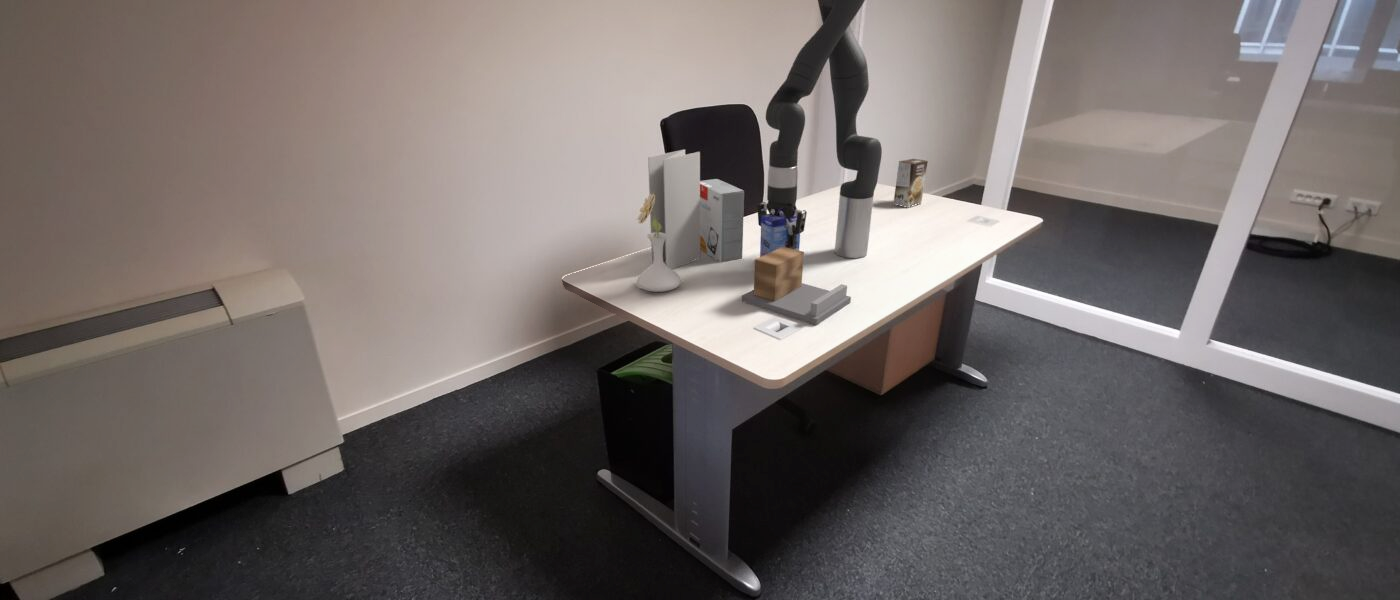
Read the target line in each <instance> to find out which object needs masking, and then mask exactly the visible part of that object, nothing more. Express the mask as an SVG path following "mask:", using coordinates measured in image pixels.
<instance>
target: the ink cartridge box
mask: <svg viewBox="0 0 1400 600" xmlns="http://www.w3.org/2000/svg"><path fill="white" fill-rule="evenodd" d="M782 209H783V208H780V209H779V210H778V212H777V215H771V214H770V213H767V214H766V215H762V216H761V226H760V244H759V246H760V251H759V252H760V253H759V257H762V256H764V255H766V254H768V253H770V252H772V251H775V250H777V249H779V248H781V247H786V248H788V235H789V232H788V230H787V228H786V227H785V219H784V218H783V217H781V216H779V212H780V211H781V210H782ZM794 220H795V221H797V218H796V215H794V216H793V217H792V218H791V219H790V220H788V222H789V223H791V222H793V221H794ZM800 241H801V233H800V234H797V239H796V246H794V247H793V248H791V249H794V250H798V251H800V245H801V244H800V243H801V242H800Z"/></svg>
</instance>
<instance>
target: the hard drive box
mask: <svg viewBox="0 0 1400 600" xmlns="http://www.w3.org/2000/svg"><path fill="white" fill-rule="evenodd" d="M744 200H745V190H743V189H741V188H738V187H737V186H735V185H732V184H730V183H728V182H725V181H723V180H720V179H718V178H713V179H706V180H700V251H702V250H703V252H705V254H707V255H709V256H710V257H711V258H713V259H714V258H715V259H714V260H716V261H717V262H719V263H724V261H725V262H730V261H735V260H739V259H742V258H743V243H744V242H743V240H744V214H745V213H744V212H745V211H744V208H745V206H744V205H745V201H744ZM729 260H730V261H729Z"/></svg>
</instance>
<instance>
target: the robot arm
mask: <svg viewBox="0 0 1400 600" xmlns="http://www.w3.org/2000/svg"><path fill="white" fill-rule="evenodd" d="M865 1H866V0H817V3H818V7H819V12H820V17H821V20H822V25H821V26H820V27H819V28H818V30H817V31H816V32H815V33H814V34H813V35H812V36H811V37H810V38H809V39H808V40H807V42H805V44H803V46H802V47H801V49H800V50H799V52H798V53H797V55H796V57H795V59H794V61H793V63H792V65H791V68H790V70H789V72H788V74H787V76H786V78H785V81H784V82H783V83H782V84H781V85H780V86H779V88H778V90H776V92H775V93H774V95H773V96H772V98H771V99H770V101H769V103H768V105H767V108H766V111H765V120H766V123H767V125H768V126H769V127H770V128H771V129H774V130H777V131H779V133H778V137H777V140H774V141H772V142H771V143H770V145H769V146H770V147H769V159H768V160H769V162H768V165H769V166H768V170H767V188H766V189H767V191H766V194H767V195H766V197H767V198H766V199H767V202H764V201H762V202H761V203H758V204H757V206H756V207H757V221H758V223H757V224H758V226H760V227H761V216H762V215H766V214H771V215H777V212H778V210H779V209H780V208H783V209H782V210H781V211H780V212H779V216H781V217H783V218H784V219H785V227H786V228H787V230H788V232H789V235H788V248H790V249H791V248H793V247H794V246H796V239H797V234H800V235H801V234H802V233H803V232H804V231H805V226H806V221H807V220H806V218H807V210H806V209H803V210H801V209H798V208H797V205H796V203H797V199H798V198H797V197H798V196H797V195H798V182H799V181H798V178H799V174H798V172H799V171H798V159H799V158H798V157H799V156H798V154H799V152H798V151H799V147H800V144H801V141H802V137H803V132H804V129H805V126H806V115H805V114H806V113H805V111H804V108H803V106H801V104H799V101H800V100H801V99H802V98H805V97H808V96H810V95H811V94H812V93H813V91H814V89H815V87H816V85H817V82H818V80H819V78H820V75H821V74H822V72H823V69H824V67H825V66H826V63H827V61H829V74H830V75H829V76H830V83H831V90H832V96H833V104H834V115H835V117H834V118H835V139H836V140H835V143H836V144H835V146H836V149H835V150H836V158H837V162H838V164H839V165H840V167H842V168H843V169H847V170H851V171H856V177H855V179H854V180H850V181H845V182H843V183H842V184H840V186H839V187H840V188H839V198H838V199H839V200H838V209H837V210H838V212H837V220H836V221H837V222H836V231H835V244H834V253H835V254H836V255H837V256H840V257H843V258H847V259H849V258H850V259H858V258H864V257H866V256H867V254H868V249H869V248H868V247H869V239H870V230H871V221H872V212H873V203H874V194H875V190H876V187H877V185H878V184H877V183H878V179H879V173H880V167H881V162H882V161H881V160H882V154H883V153H882V151H883V150H882V143H881V141H880V140H879V139H878V138H874V137H869V136H863V135H858V132H857V131H858V130H857V116H858V112H859V110H860V108H861V106H862V105H863V103H864V101H865V98H866V96H867V94H868V91H869V88H870V87H869V85H870V84H869V83H870V82H869V72H868V71H869V70H868V63H867V58H866V56H865V53H864V51H863V50H862V47H861V45H860V44H859V41H858V39H856V36H855V34H854V33H853V30H852V28H851V23H852V22H853V20H854V18H855V17H856V15H857V14H858V13H859V11H860V9H861V8H862V7H863V4H864V3H865ZM767 211H768V213H767ZM794 215H796V218H797V221H795V220H794V221H793V222H791V223H789V222H788V220H790V219H791V218H792V217H793V216H794Z"/></svg>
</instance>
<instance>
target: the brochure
mask: <svg viewBox="0 0 1400 600" xmlns="http://www.w3.org/2000/svg"><path fill="white" fill-rule="evenodd" d="M647 161H648V163H647V164H648V167H647V168H648V191H649V195H650V193H651V195H653V193H654V195H655V201H654V202H655V203H654V205H653V208H652V211H653V213H654V215H655V217H656V219H657V221H658V223H659V224H660V225H661V227H662V228H661V230H660V231H659V232H661V233H666V234H667V235H668V236H667V238H666V239H665V241H664V244H663V262H665V265H666V266H667V267H669V268H670V269H672V270H674V269H677V268H679V266H680V267H682V266H684V265H687V264H689V263H692V262H694V261H696V260H698V258H699V259H700V258H701V249H700V181H701V151H696V152H693V153H692V152H691V153H687V154H686V149H680V150H674V151H671V152H666V153H662V154H658V155H653V156H648V157H647ZM649 195H648V196H649ZM654 219H655V218H654V216H653V215H652V213H650V214H649V221H650V233H655V232H656V230H655V229H654V228H653V227H652V226H651V224H652V222H653V220H654ZM650 248H651V249H650V251H651V252H650V253H651V265H652V264H653V260H654V254H653V247H652V243H651V242H650ZM695 259H696V260H695ZM693 260H694V261H693ZM686 263H687V264H686Z"/></svg>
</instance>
